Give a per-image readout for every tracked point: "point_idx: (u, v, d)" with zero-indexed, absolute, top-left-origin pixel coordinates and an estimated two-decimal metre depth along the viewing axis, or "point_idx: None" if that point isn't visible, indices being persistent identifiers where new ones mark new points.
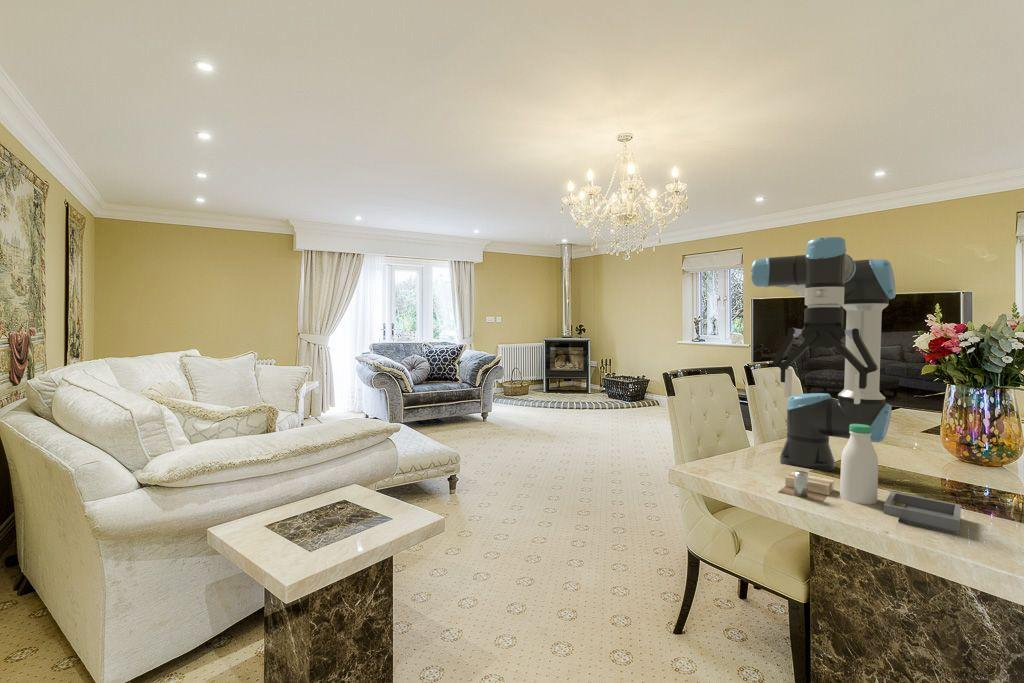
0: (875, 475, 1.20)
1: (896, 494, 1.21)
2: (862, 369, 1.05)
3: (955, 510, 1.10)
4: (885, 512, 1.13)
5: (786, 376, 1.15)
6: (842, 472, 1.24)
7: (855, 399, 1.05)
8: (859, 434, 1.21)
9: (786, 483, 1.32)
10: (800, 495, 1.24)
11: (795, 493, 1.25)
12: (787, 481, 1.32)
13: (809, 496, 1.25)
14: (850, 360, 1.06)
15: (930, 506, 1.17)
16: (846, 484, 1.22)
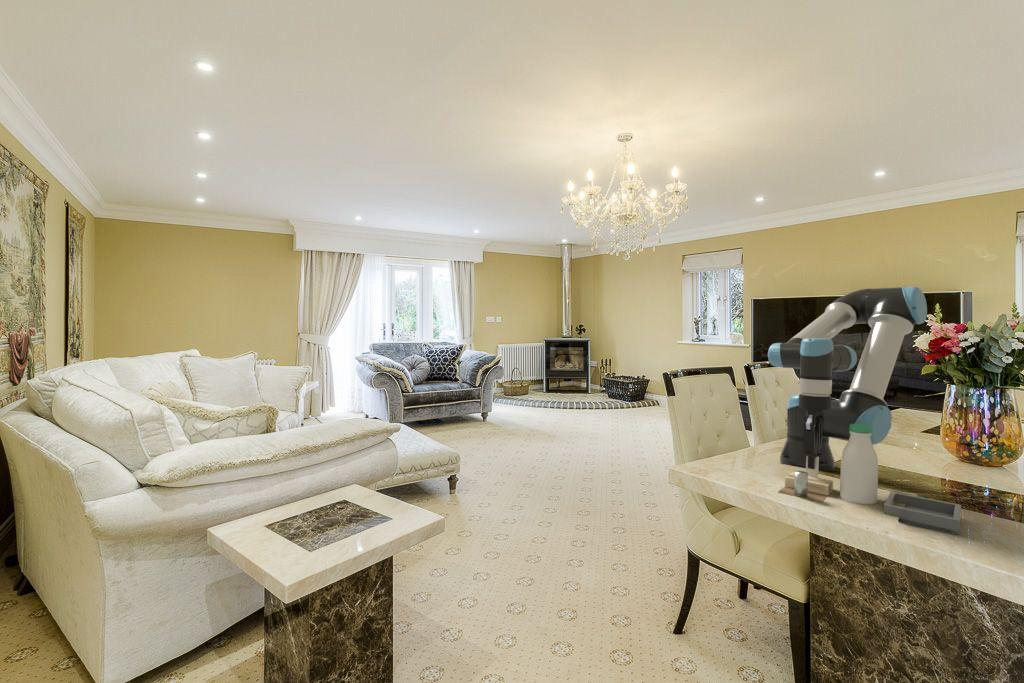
0: (875, 475, 1.20)
1: (896, 494, 1.21)
2: None
3: (955, 510, 1.10)
4: (885, 512, 1.13)
5: None
6: (842, 472, 1.24)
7: None
8: (859, 434, 1.21)
9: (786, 483, 1.32)
10: (800, 495, 1.24)
11: (795, 493, 1.25)
12: (787, 481, 1.32)
13: (809, 496, 1.25)
14: None
15: (930, 506, 1.17)
16: (846, 484, 1.22)
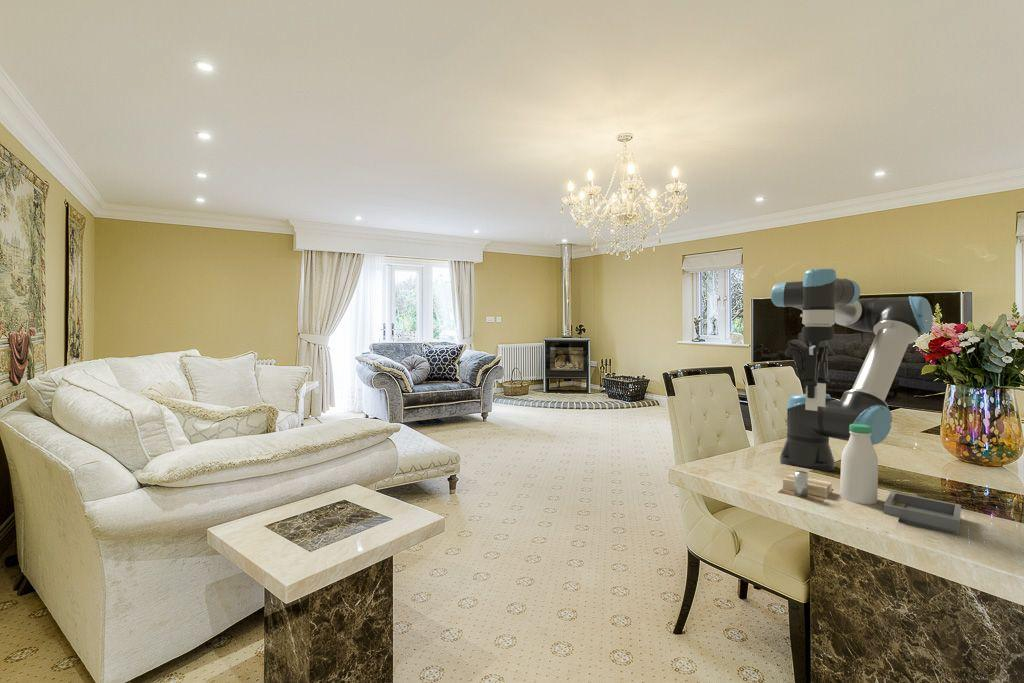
0: (875, 475, 1.20)
1: (896, 494, 1.21)
2: None
3: (955, 510, 1.10)
4: (885, 512, 1.13)
5: None
6: (842, 472, 1.24)
7: None
8: (859, 434, 1.21)
9: (783, 485, 1.30)
10: (800, 495, 1.24)
11: (795, 493, 1.25)
12: (784, 483, 1.30)
13: (809, 496, 1.25)
14: None
15: (930, 506, 1.17)
16: (846, 484, 1.22)
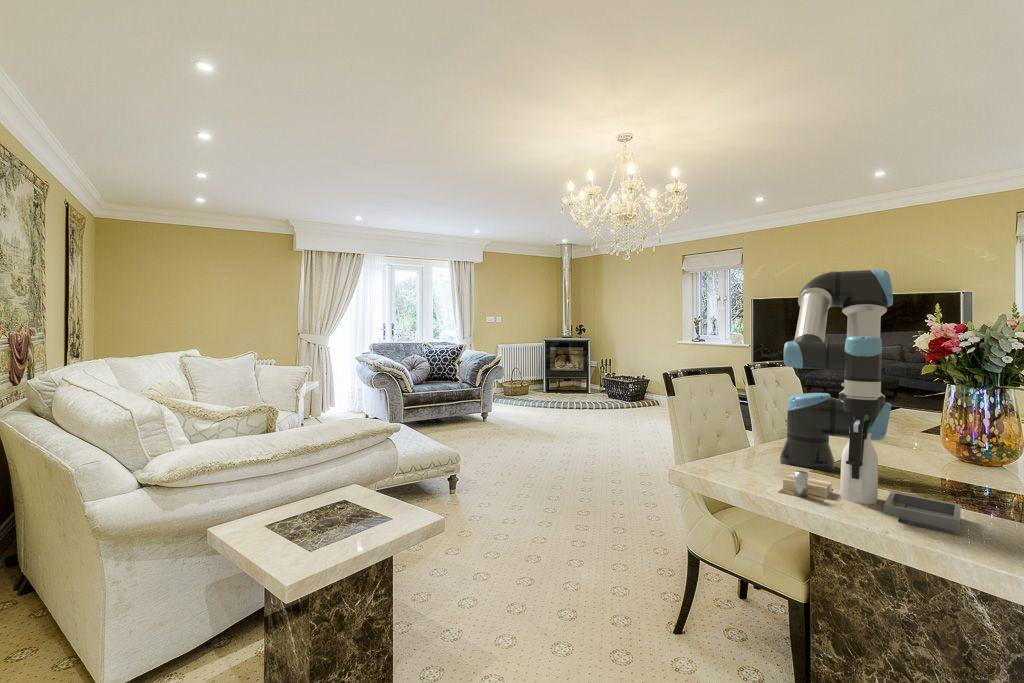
0: (875, 475, 1.20)
1: (896, 494, 1.21)
2: None
3: (955, 510, 1.10)
4: (885, 512, 1.13)
5: None
6: (842, 472, 1.24)
7: None
8: None
9: (783, 485, 1.30)
10: (800, 495, 1.24)
11: (795, 493, 1.25)
12: (784, 483, 1.30)
13: (809, 496, 1.25)
14: None
15: (930, 506, 1.17)
16: (846, 484, 1.22)
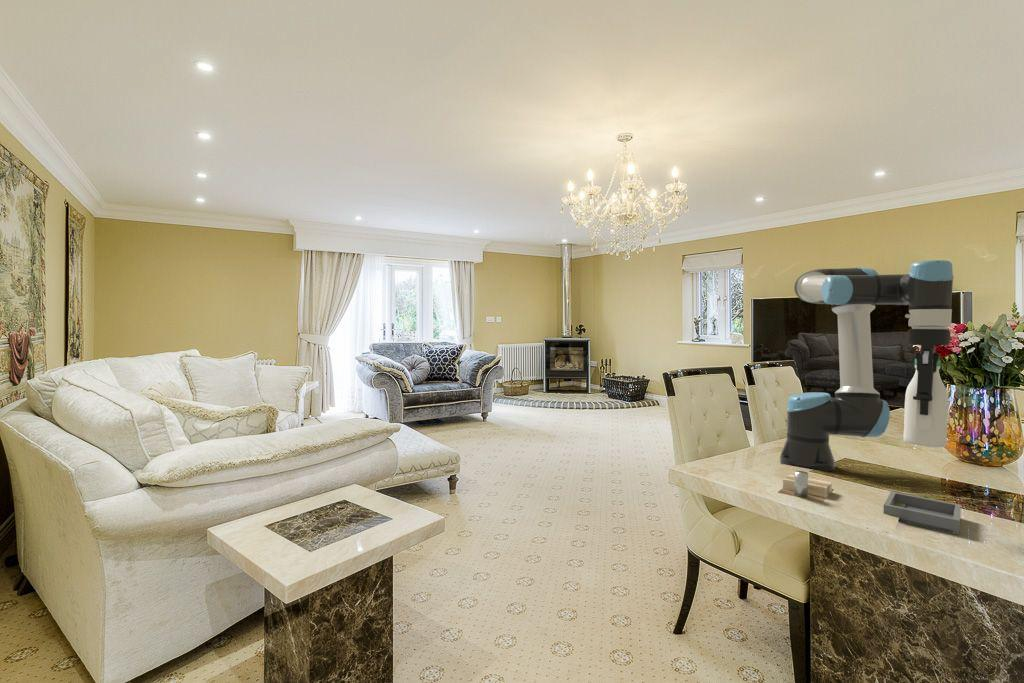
0: (945, 412, 1.10)
1: (896, 494, 1.21)
2: None
3: (955, 510, 1.10)
4: (885, 512, 1.13)
5: None
6: (907, 410, 1.14)
7: None
8: None
9: (783, 485, 1.30)
10: (800, 495, 1.24)
11: (795, 493, 1.25)
12: (784, 483, 1.30)
13: (809, 496, 1.25)
14: None
15: (930, 506, 1.17)
16: (912, 422, 1.12)
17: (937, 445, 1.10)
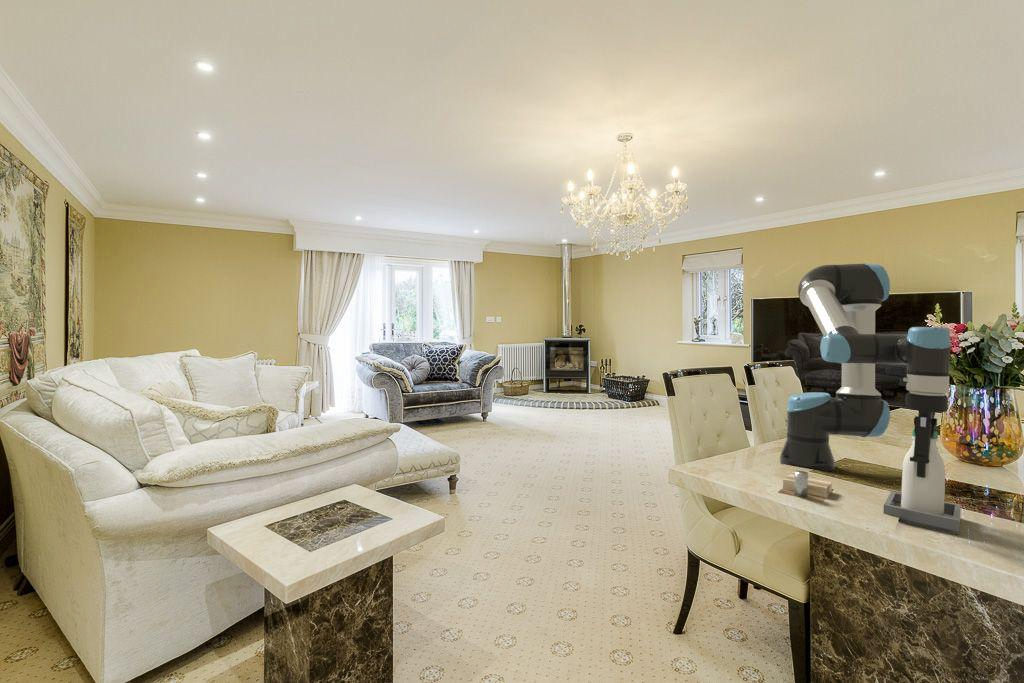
0: (942, 485, 1.10)
1: (896, 494, 1.21)
2: None
3: (955, 510, 1.10)
4: (885, 512, 1.13)
5: None
6: (904, 481, 1.14)
7: None
8: None
9: (783, 485, 1.30)
10: (800, 495, 1.24)
11: (795, 493, 1.25)
12: (784, 483, 1.30)
13: (809, 496, 1.25)
14: None
15: None
16: (909, 494, 1.13)
17: None
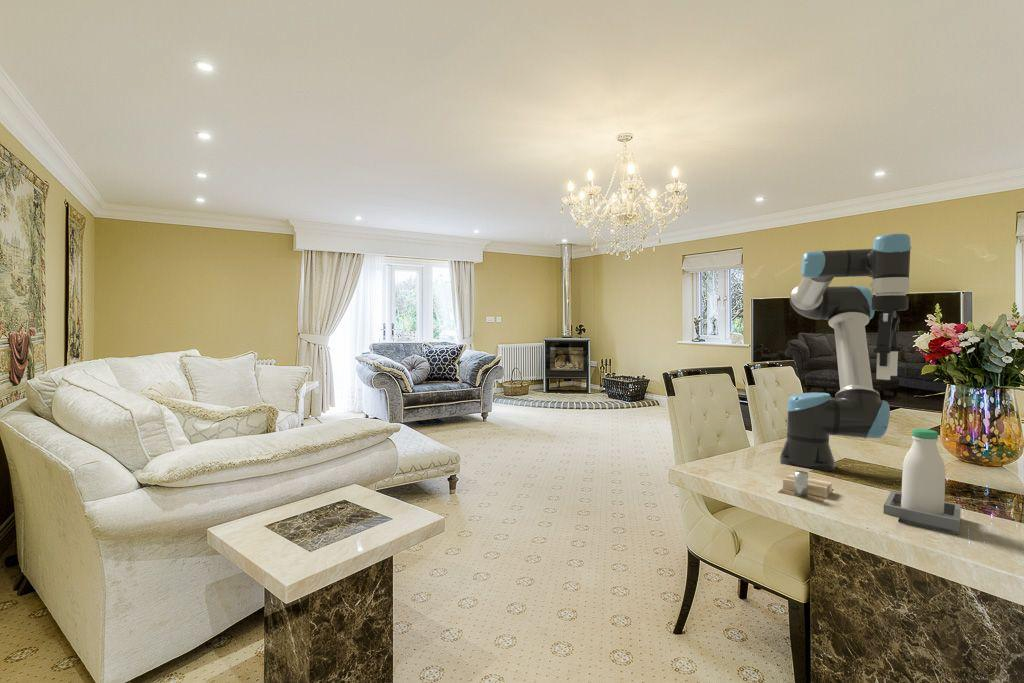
0: (943, 485, 1.10)
1: (896, 494, 1.21)
2: None
3: (955, 510, 1.10)
4: (885, 512, 1.13)
5: None
6: (904, 481, 1.14)
7: None
8: (924, 440, 1.12)
9: (783, 485, 1.30)
10: (800, 495, 1.24)
11: (795, 493, 1.25)
12: (784, 483, 1.30)
13: (809, 496, 1.25)
14: None
15: None
16: (909, 494, 1.13)
17: None
